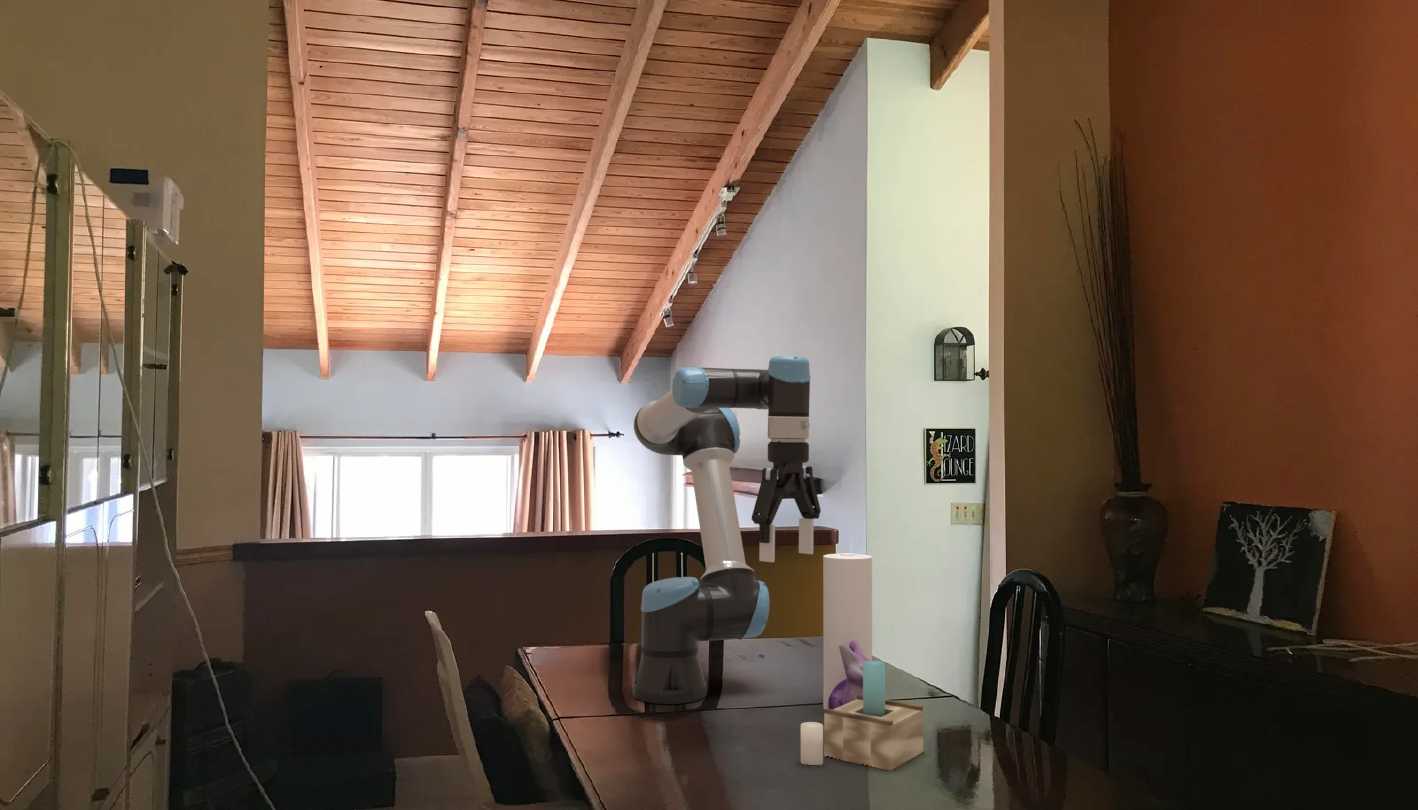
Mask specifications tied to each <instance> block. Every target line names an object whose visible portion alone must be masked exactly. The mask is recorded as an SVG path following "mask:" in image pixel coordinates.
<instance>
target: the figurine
mask: <svg viewBox="0 0 1418 810" xmlns="http://www.w3.org/2000/svg"><path fill="white" fill-rule="evenodd" d="M839 649H840V653H841V657H842V661H843V665H844V669H845V673H846V676H847V679H845V680H843V681H841V682H840V683H839V684H837V685H836V686H835V688H834V689H833V691H832V693H831V695H830V697H829V700H828V709H832V710H833V709H835V708H838V707H840V706H842V705H845V704H847V703H849V702H852V701H854V700H856V699H857V695H863V662H864V661H870V660H869V659H868V658H867V657H866V656H865V655H864V653H863V651H862V649H861V648H860V646H859V644H858V643H857V642H856V641H855V640H851V641H850V643H849V647H847V646H846V645H840V646H839Z"/></svg>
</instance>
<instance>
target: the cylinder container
mask: <svg viewBox="0 0 1418 810" xmlns="http://www.w3.org/2000/svg"><path fill="white" fill-rule="evenodd" d="M822 559H823V563H822V566H823V567H822V569H823V571H822V572H823V580H822V581H823V582H822V583H823V584H822V585H823V592H822V593H823V595H822V597H823V603H822V605H823V611H822V612H823V614H822V615H823V617H822V619H823V624H822V626H823V633H822V635H823V638H822V639H823V644H822V645H823V652H822V653H823V656H822V657H823V658H822V659H823V660H822V661H823V670H822V671H823V672H822V673H823V679H822V681H823V693H822V694H823V699H822V700H823V710H824V709H828V700H829V697H830V695H831V693H832V691H833V689H834V688H835V686H836V685H837V684H839V683H840V682H841V681H843V680H845V679H847V676H846V673H845V669H844V665H843V661H842V657H841V653H840V649H839V646H840V645H846V646H847V647H849V643H850V641H851V640H855V641H856V642H857V643H858V644H859V646H860V648H861V649H862V651H863V653H864V655H865V656H866V657H867V658H868V659H869V660H870V661H873V556H872V555H868V554H862V553H861V554H859V553H852V552H841V553H828V554H825V555H823V558H822Z"/></svg>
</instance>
